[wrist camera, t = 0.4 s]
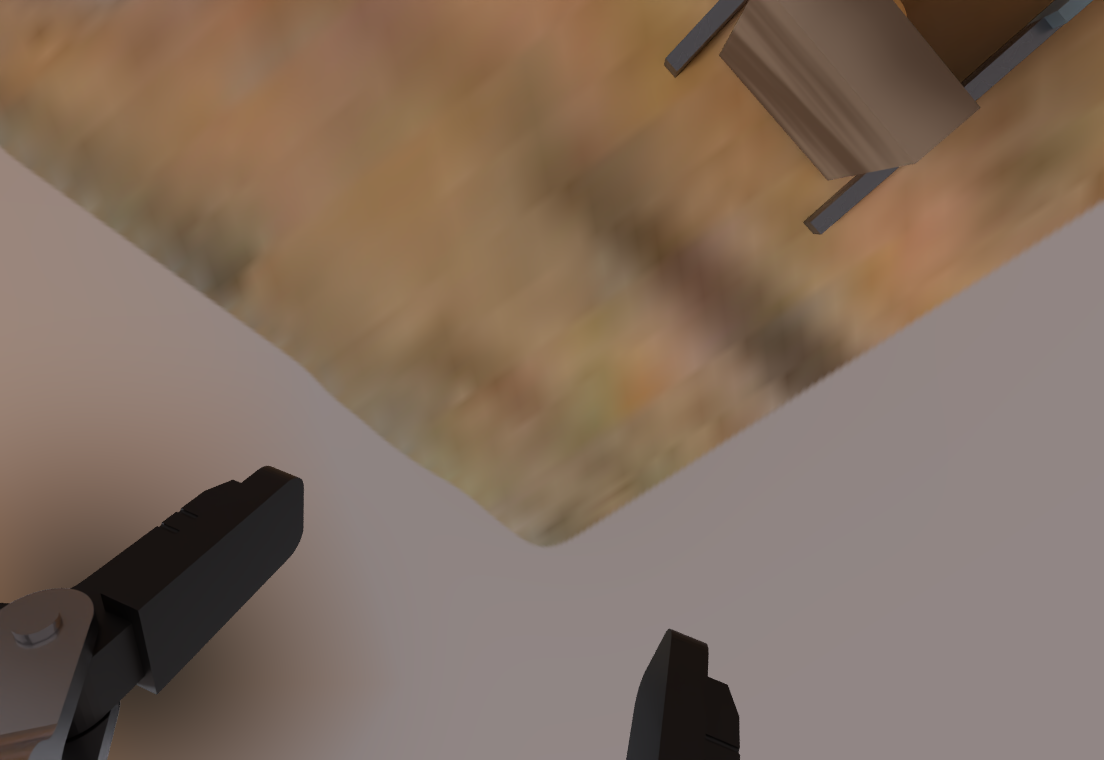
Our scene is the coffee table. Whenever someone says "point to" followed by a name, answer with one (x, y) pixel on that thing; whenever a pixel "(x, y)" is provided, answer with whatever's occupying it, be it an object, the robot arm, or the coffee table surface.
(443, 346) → the coffee table surface
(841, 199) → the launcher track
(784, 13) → the board
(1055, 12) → the blue-grey rectangular frame
